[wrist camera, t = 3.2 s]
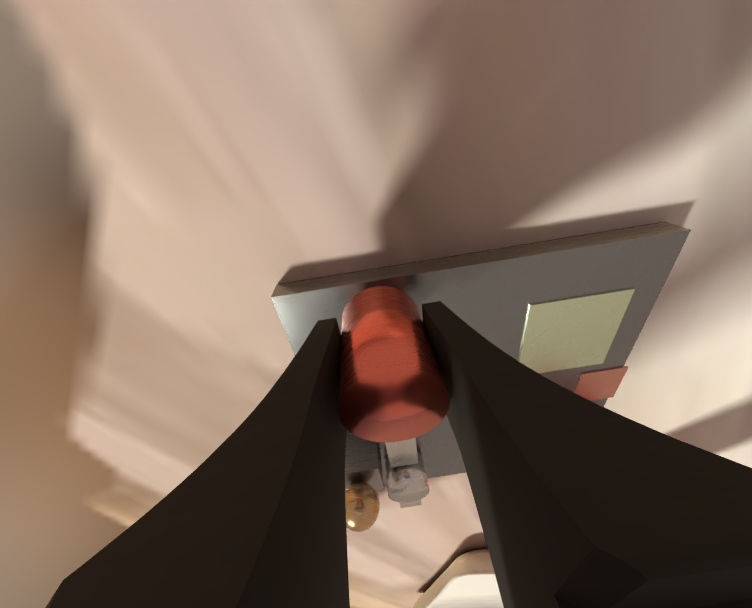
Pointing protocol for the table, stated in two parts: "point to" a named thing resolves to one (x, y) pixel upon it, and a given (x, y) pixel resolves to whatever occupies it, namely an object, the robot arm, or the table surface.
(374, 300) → the lever
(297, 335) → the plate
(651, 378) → the table surface
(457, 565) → the salad plate
